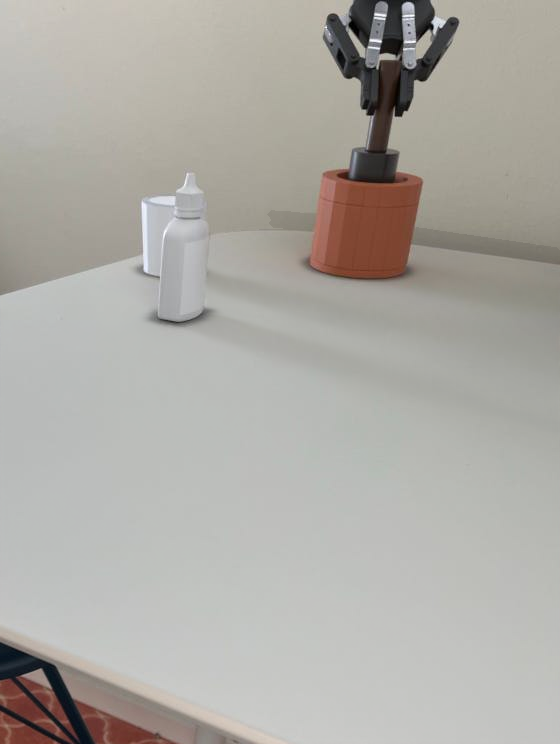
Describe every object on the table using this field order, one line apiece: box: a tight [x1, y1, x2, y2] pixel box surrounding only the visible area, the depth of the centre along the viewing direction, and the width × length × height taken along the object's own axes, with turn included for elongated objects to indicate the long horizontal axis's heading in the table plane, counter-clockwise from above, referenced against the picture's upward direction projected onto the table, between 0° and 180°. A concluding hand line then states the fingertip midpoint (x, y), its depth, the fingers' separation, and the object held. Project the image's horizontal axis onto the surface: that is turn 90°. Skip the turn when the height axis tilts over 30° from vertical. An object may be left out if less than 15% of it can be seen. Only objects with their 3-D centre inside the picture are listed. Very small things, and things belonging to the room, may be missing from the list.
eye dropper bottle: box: [157, 172, 211, 323], centre depth 89 cm, size 4×6×12 cm
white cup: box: [140, 194, 208, 278], centre depth 103 cm, size 7×7×7 cm
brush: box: [347, 59, 402, 183], centre depth 101 cm, size 5×5×13 cm
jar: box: [309, 168, 424, 280], centre depth 106 cm, size 10×10×9 cm
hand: (386, 110), depth 98 cm, fingers closed on brush
